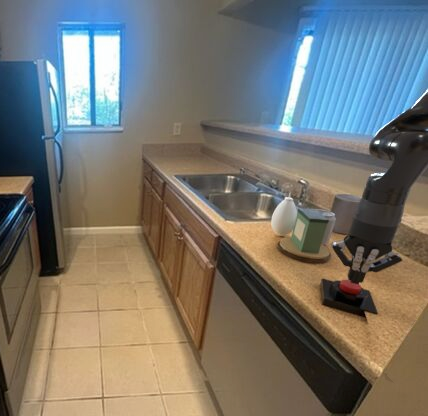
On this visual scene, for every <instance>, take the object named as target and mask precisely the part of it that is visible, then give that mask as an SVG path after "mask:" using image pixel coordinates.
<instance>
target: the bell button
mask: <svg viewBox="0 0 428 416" xmlns="http://www.w3.org/2000/svg"><path fill="white" fill-rule="evenodd" d="M340 281H341V282H340V285H339V288H340V289H341V290H343V291H345V292H347V293H351V294H359V293H360V290H361V287H362V286H361V284H360V283H359V284H355V283H351V282H350V280H349V279H341V280H340Z"/></svg>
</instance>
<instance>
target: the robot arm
mask: <svg viewBox="0 0 428 416" xmlns="http://www.w3.org/2000/svg"><path fill="white" fill-rule="evenodd" d="M368 152H369V154H370V156H371V157H372V158H374V159H376V160H378V161H383V162H388V163H391V165H390V167H389V168H388V169H387V170H386V172H383V171H380V172H376V173H371V174H370V176H369V177H368V178H367V180H366V183H365V185H364V189H363V192H362V195H361V197H362V198H361V200H360V202H359V204H358V206H357V209H356V212H355V215H354V218H353V221H352V224H351V227H350V230H349V233H348V235H347V234H346V235H345V236H344V238H343V240H341V241H332V242H331V248H332V250H333V251H334V253H335V254H336V256H337V257H338V259H339V261H341V263H342V265H343V266H344V267H348V272H347V276H346V277H347V280H350V282H351V283H355V284H359V285H360V284H362V283H363V282H364V281H365V278H366V275H367V273H369V272H370V273H371V272H373V273H379V272H381V271H383V270H386V269H388V268H390V267H392V266H395V265H397V264H399V263H401V262H402V261H403V259H402V257H401V255H400V254H399V253H398V252H395V251H394V250H393V246H392V243H393V241H394V238H395V236H396V233H397V230H398V229H399V226H400V224H401V223H402V218H403V216H404V212H405V206H406V203H407V201H408V198H409V195H410V193H411V190H412V188H413V186H414V184H415V183H416V182H417V181H418V180H419V179H420V178H421V176H422V175H423V174H424V172H426V170H427V169H428V89H427V90H426V91H425V92H424V93H423V94H422V96H420V98H419V99H418V100H417V101H416V102H415V104H413V105H412V106H410V107H409V108H407V109H406V110H404V111H403V112H402V113H400V114H399V115H397V116H396V117H395V118H394V119H392V120H390V121H389V122H388V123H386V124H385V125H384V126H383V127H381V128H380V129H379V130H378V131H377V132H376V133H375V135H374V136H373V137H372V138H371V140H370V143H369V144H368ZM345 247H346V248H347V250H348V251H349V253H350V254H351V259H349V258H348V256H347V255H346V253H345V252H344V251H345ZM375 260H376V261H375Z"/></svg>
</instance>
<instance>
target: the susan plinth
mask: <svg viewBox="0 0 428 416" xmlns="http://www.w3.org/2000/svg"><path fill="white" fill-rule="evenodd" d="M276 249H277V251H278V252H279V253H281V254H282V255H283V256H285V257H287V258H288V259H292V260H294V261H297V262H300V263H304V264H312V265H323V264H327V263H328V262H330V259H331V257H332V254H331V253H330V254H329V256H328V257H326V258H323V259H311V258H305V257H301V256H298V255H295V254H292V253H290V252H288V251H286V250H284V249H283V248H282V247H281V246H280V240H279V241H277V244H276Z"/></svg>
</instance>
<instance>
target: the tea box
mask: <svg viewBox="0 0 428 416" xmlns="http://www.w3.org/2000/svg"><path fill="white" fill-rule="evenodd" d="M317 210H318V209H316V208H315V209H314V208H299V207H298V208H297V217H296V221H295V225H294V229H293V231H292V232H291V236H284V237H282V238H281V239H279V241H280V246H281V247H282V248H283V249H284V250H286V251H288V252H290V253H292V254H295V255H298V256H301V257H305V258H311V259H323V258H326V257H328V256H329V254H331V252H330V249H329V248H328V247H327V246H326V245H322V244H321V243H322V240H323V237H324V233H325V230H326V227H327V224H328V222H329V220H328V219H327V218H326V217H325V216H323V215H322V214H321V213H319V212H318V211H317Z"/></svg>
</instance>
